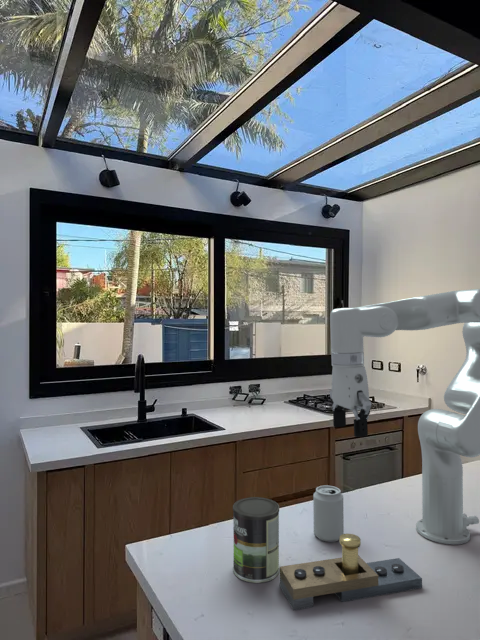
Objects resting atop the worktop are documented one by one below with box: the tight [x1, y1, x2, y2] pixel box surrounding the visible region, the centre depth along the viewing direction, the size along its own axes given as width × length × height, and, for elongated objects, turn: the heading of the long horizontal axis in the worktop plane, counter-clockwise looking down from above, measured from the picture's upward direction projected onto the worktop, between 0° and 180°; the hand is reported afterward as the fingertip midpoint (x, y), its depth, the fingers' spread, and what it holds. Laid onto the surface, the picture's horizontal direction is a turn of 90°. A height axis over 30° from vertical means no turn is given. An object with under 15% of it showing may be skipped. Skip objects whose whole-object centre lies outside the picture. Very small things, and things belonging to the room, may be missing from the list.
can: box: [312, 484, 345, 543], centre depth 113 cm, size 8×8×12 cm
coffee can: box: [232, 496, 280, 584], centre depth 98 cm, size 10×10×14 cm
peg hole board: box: [279, 554, 423, 611], centre depth 91 cm, size 28×8×5 cm, turn 104°
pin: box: [339, 533, 362, 576], centre depth 91 cm, size 4×4×10 cm
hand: (349, 431), depth 106 cm, fingers open, 9 cm apart
